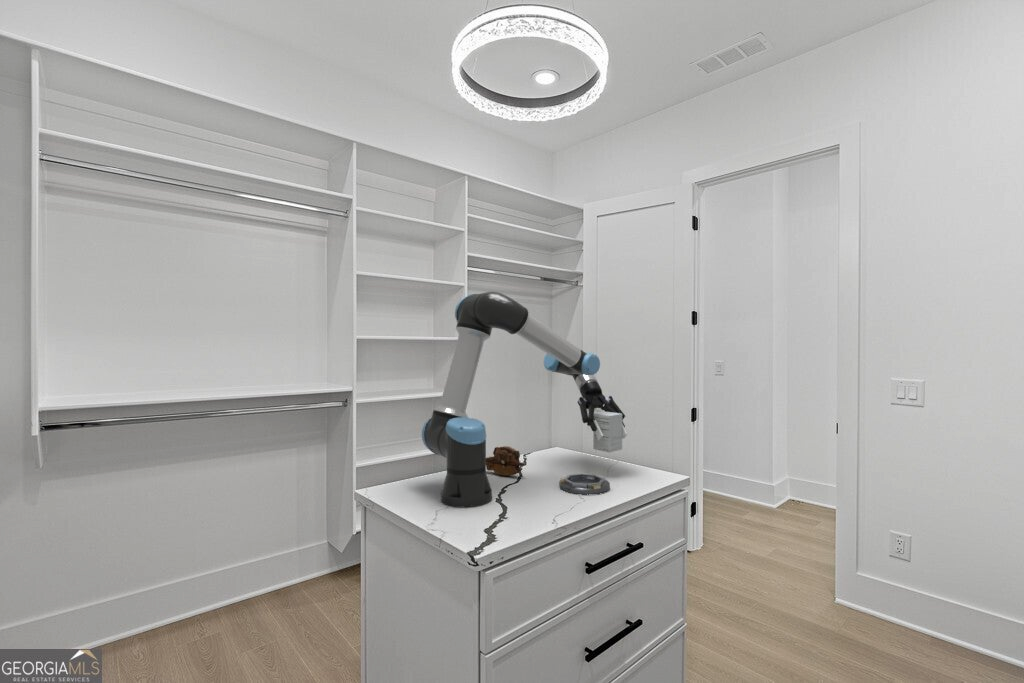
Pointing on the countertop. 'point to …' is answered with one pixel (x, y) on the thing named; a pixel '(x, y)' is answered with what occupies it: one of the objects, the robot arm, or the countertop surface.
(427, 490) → the countertop surface
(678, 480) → the countertop surface
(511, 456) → the wooden carving
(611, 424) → the supplement box
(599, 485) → the ring
